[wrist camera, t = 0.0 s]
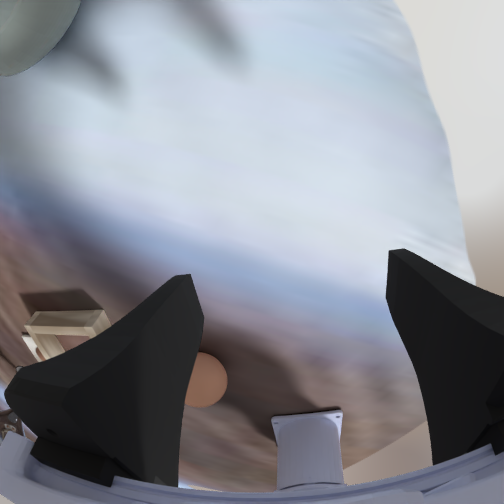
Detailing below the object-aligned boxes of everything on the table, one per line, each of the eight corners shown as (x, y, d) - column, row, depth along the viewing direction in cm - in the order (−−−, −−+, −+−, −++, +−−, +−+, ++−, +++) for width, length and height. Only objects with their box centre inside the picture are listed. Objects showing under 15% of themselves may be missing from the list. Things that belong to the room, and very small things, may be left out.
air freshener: (-4, 23, 13) (-87, 24, 4) (54, -50, 10) (-23, -78, 1) (43, 88, 16) (-60, 105, 8) (114, 4, 14) (19, -34, 5)
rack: (171, 424, 34) (167, 440, 32) (80, 411, 36) (74, 424, 34) (103, 309, 25) (92, 326, 23) (9, 311, 27) (-2, 324, 25)
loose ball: (235, 375, 28) (229, 418, 24) (186, 376, 29) (175, 416, 24) (223, 339, 26) (215, 383, 21) (170, 341, 26) (155, 383, 22)
